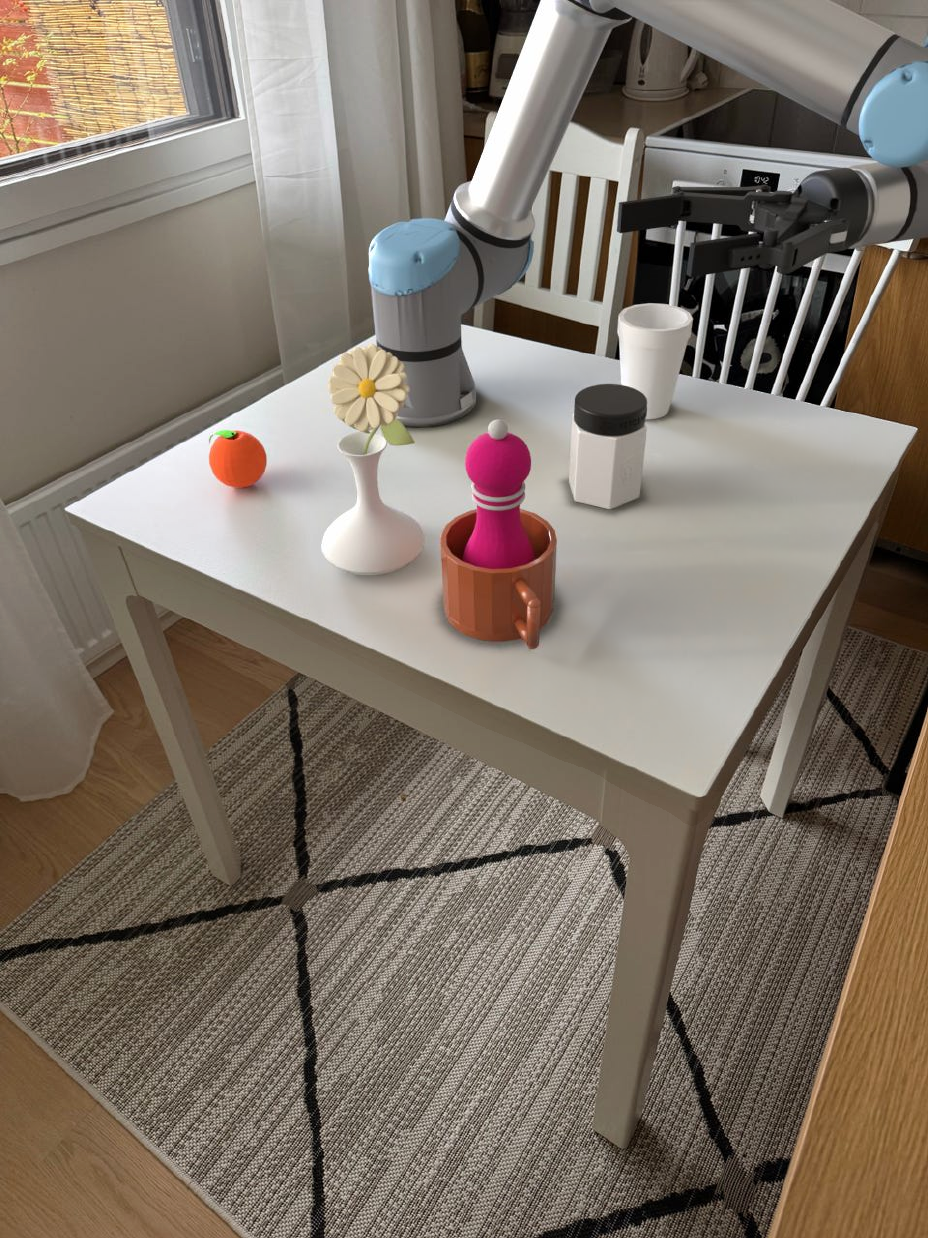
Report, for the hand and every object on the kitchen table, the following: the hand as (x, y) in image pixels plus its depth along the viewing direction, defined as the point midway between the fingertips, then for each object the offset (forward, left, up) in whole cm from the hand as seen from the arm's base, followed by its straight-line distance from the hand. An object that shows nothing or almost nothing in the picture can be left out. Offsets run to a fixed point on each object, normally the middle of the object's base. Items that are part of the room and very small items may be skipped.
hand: (652, 237), depth 84 cm
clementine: (-26, -40, -32) cm, 57 cm away
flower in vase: (-4, -28, -32) cm, 43 cm away
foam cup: (-24, +16, -32) cm, 43 cm away
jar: (-7, +1, -32) cm, 33 cm away
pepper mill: (+9, -19, -31) cm, 37 cm away
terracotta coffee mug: (+11, -19, -32) cm, 38 cm away
